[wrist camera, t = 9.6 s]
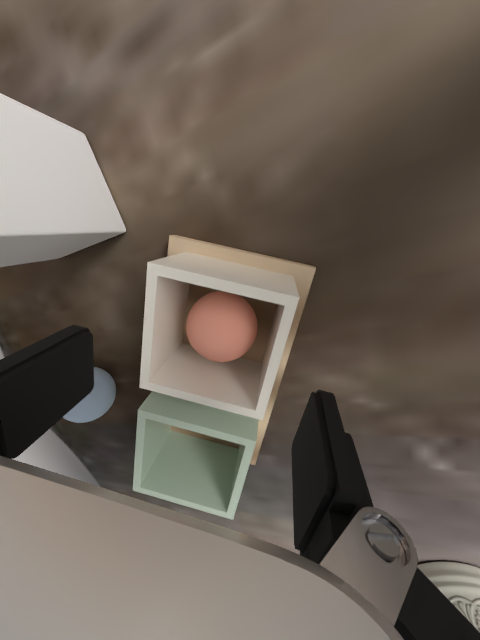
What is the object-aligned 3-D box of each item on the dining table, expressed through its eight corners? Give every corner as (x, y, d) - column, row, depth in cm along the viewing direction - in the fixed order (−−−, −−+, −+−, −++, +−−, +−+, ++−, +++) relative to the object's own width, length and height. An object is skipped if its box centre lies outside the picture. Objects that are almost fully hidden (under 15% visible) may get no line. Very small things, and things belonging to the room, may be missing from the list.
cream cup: (186, 251, 19) (147, 262, 14) (293, 276, 19) (299, 297, 13) (174, 347, 22) (139, 387, 16) (266, 370, 22) (262, 420, 16)
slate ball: (80, 351, 25) (35, 379, 21) (127, 364, 25) (92, 395, 20) (81, 392, 27) (40, 426, 22) (125, 404, 27) (93, 441, 22)
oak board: (175, 234, 20) (169, 235, 19) (314, 265, 19) (316, 268, 18) (155, 427, 27) (150, 436, 26) (255, 455, 27) (254, 465, 25)
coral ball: (203, 277, 20) (179, 293, 15) (266, 292, 19) (262, 313, 15) (194, 335, 21) (171, 365, 17) (252, 349, 21) (244, 384, 16)
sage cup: (172, 364, 23) (137, 409, 17) (262, 387, 22) (256, 441, 17) (164, 433, 26) (132, 490, 20) (243, 455, 25) (232, 519, 20)
